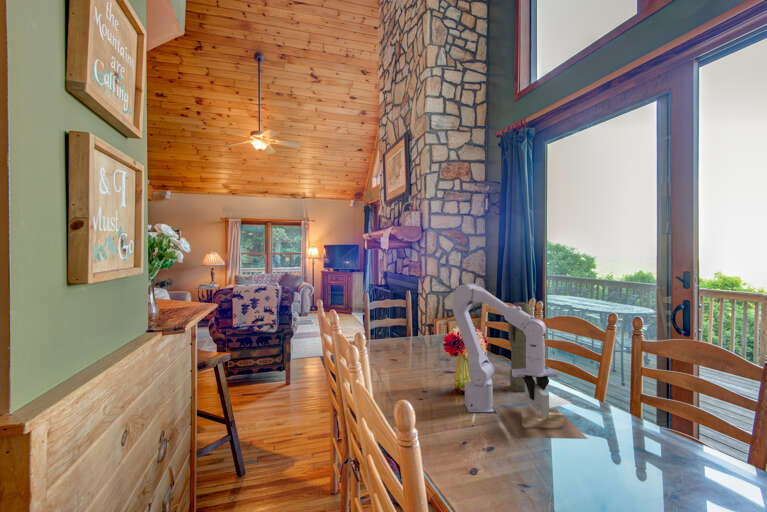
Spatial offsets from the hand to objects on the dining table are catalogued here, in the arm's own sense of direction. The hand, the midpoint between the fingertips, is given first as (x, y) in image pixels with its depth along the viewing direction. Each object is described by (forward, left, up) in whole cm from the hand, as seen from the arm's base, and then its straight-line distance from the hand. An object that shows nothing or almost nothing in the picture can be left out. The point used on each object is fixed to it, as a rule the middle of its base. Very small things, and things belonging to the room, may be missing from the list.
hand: (535, 398), depth 113 cm
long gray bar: (0, -1, -2) cm, 2 cm away
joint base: (0, -2, -7) cm, 8 cm away
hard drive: (+12, +14, -8) cm, 20 cm away
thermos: (+5, +28, -7) cm, 29 cm away
